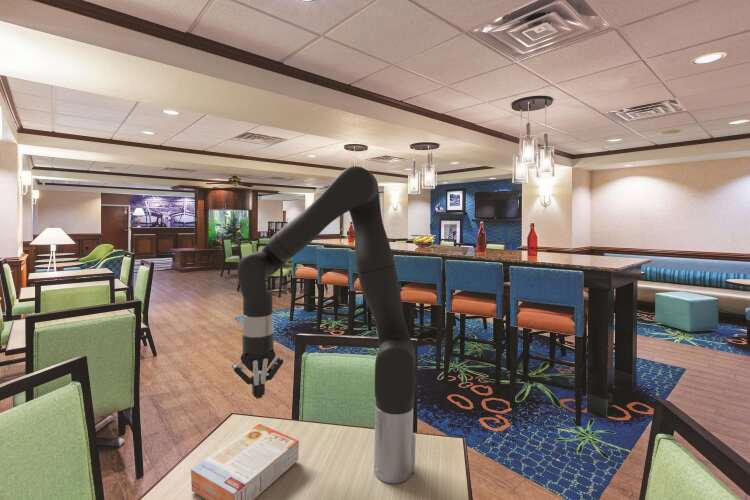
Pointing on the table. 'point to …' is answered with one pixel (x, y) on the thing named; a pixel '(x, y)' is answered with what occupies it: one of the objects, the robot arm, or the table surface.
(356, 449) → the table surface
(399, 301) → the robot arm
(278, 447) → the cracker box
